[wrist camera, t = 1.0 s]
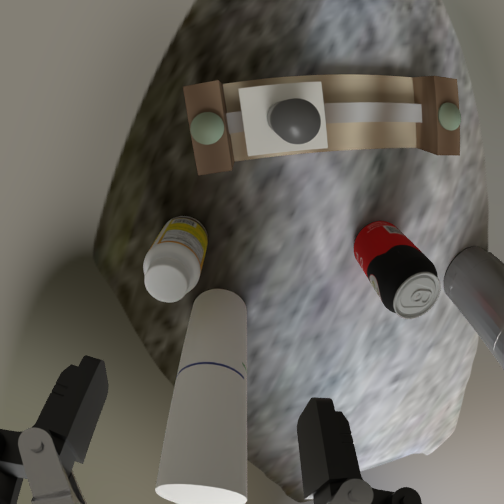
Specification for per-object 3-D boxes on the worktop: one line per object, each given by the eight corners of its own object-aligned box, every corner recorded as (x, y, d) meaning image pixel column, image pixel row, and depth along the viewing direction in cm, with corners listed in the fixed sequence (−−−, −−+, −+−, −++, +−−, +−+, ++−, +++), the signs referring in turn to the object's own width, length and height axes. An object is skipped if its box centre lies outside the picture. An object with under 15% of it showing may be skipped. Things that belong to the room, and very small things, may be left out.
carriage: (314, 83, 25) (345, 73, 16) (321, 144, 28) (353, 162, 19) (239, 90, 25) (234, 81, 17) (248, 152, 28) (248, 173, 19)
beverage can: (359, 213, 34) (404, 262, 23) (403, 223, 35) (455, 271, 24) (344, 260, 37) (377, 322, 26) (387, 267, 38) (428, 325, 27)
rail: (427, 80, 27) (459, 79, 21) (430, 145, 30) (461, 156, 25) (194, 90, 28) (182, 86, 22) (206, 163, 32) (197, 176, 26)
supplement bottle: (178, 265, 37) (158, 317, 28) (153, 227, 35) (123, 272, 26) (218, 246, 36) (208, 296, 27) (193, 205, 34) (173, 245, 24)
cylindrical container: (223, 278, 38) (201, 479, 15) (257, 315, 40) (265, 501, 18) (181, 306, 40) (137, 487, 17) (216, 339, 42) (200, 511, 20)
